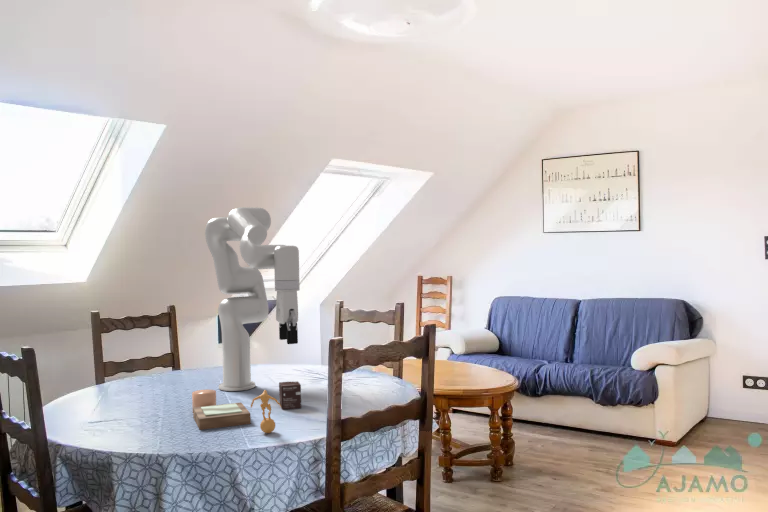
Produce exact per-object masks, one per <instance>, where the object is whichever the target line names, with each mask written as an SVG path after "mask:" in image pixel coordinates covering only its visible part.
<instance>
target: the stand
mask: <svg viewBox="0 0 768 512" xmlns="http://www.w3.org/2000/svg"><path fill="white" fill-rule="evenodd" d="M192 417H193V420H194V422H195V424H196V426H197V428H198V430H199V431H202V430H209V429H219V428H229V427H236V426H245V425H250V424H251V423H252V421H251V419H252V418H251V412H250V411H249V409H247V407H246V406H245V405H244V404H243V402H241V401H240V402H233V403H231V402H230V403H223V404H216V405H212V406H203V407H194V408H193V410H192Z"/></svg>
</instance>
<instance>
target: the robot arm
mask: <svg viewBox="0 0 768 512" xmlns="http://www.w3.org/2000/svg"><path fill="white" fill-rule="evenodd" d="M271 224H272V217H271V215H270V213H269V211H267V210H266V209H265V208H264V207H237V208H234V209H232V210H230V212H229V213H228V215H227V216H220V217H214V218H211V219H210V220H208V221H207V223H206V225H205V229H204V230H205V231H204V236H205V241H206V244H207V245H206V246H207V247H208V250H209V252H210V255H211V257H212V260H213V266H214V271H215V275H216V283H217V287H218V289H219V291H220V293H221V294H223V295H241V296H232V297H231V296H230V297H227V298H224V299H223V300H221V302H219V305H218V309H217V311H218V318H219V323H220V329H221V344H222V345H221V347H222V348H221V353H222V354H221V357H222V382H221V383H220V384H218V389H219V390H221V391H225V392H241V391H247V390H251V389H254V388H256V382H255V381H253V380H252V375H251V374H252V373H251V339H250V334H249V332H248V331H247V330H246V328H245V326H244V325H246V324H253V323H261V322H264V321H266V319H267V318H268V315H269V311H270V310H269V303H268V299H267V298H268V297H267V293H266V287H265V282H264V278H263V275H262V273H261V271H260V270H270V269H271V270H272V269H273V270H274V291H275V292H276V300H275V301H276V303H275V320H276V322H277V323H279V324H278V331H279V337H278V338H279V340H280V341H283V340H286V344H288V345H295V344H298V343H299V342H298V341H299V337H298V336H299V335H298V332H299V331H298V321H299V304H298V303H299V302H298V299H299V298H298V293H297V292H298V291H300V287H301V285H300V283H301V282H300V250H299V247H298V246H296V245H286V244H263V243H264V242H265V241H266V240H267V237H268V231H269V229H270V227H271ZM228 242H239V253H240V256H241V258H242V259H243V261H244V263H246V264H247V265H248V266H241V265H240V262H239V257H238V253H237V251H236V250H235V249H234V248H233V247H232V246H231V245H230V244H229V243H228ZM243 294H247V295H248V296H243Z"/></svg>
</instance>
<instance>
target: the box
mask: <svg viewBox="0 0 768 512" xmlns="http://www.w3.org/2000/svg"><path fill="white" fill-rule="evenodd" d="M278 388H279V389H278V394H279V395H278V397H279V398H278V400H279V401H278V402H279V403H280V405H281V407H280V408H281V410H283V411H284V410H296V409H297V410H298V409H302V391H301V390H302V386H301V383H300V382H299V381H298V380H297V381H281V382H279V383H278ZM280 405H279V406H280Z"/></svg>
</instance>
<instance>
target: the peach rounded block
mask: <svg viewBox="0 0 768 512" xmlns="http://www.w3.org/2000/svg"><path fill="white" fill-rule="evenodd" d="M191 398H192V399H191V400H192V401H191V403H192V409H191V410H192V411H193V408H194V407H203V406H212V405H217V391H216V390H214V389H199V390H194V391H192V393H191Z"/></svg>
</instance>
